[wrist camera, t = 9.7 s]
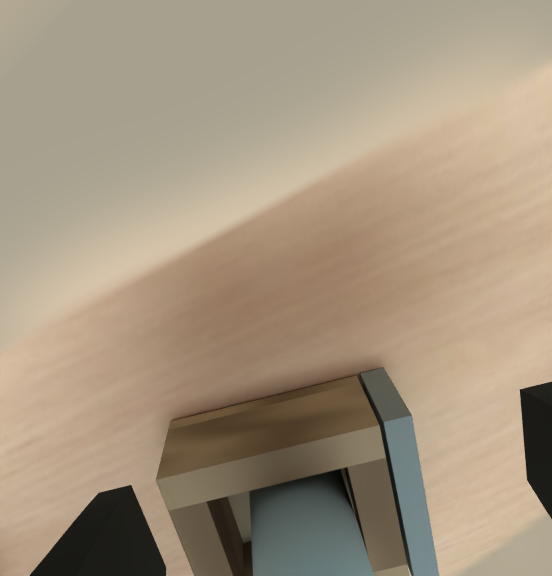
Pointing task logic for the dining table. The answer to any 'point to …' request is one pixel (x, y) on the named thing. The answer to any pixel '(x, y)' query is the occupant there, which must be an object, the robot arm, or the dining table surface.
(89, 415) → the dining table surface
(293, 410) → the frame
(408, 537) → the backstop wall
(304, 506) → the dowel
